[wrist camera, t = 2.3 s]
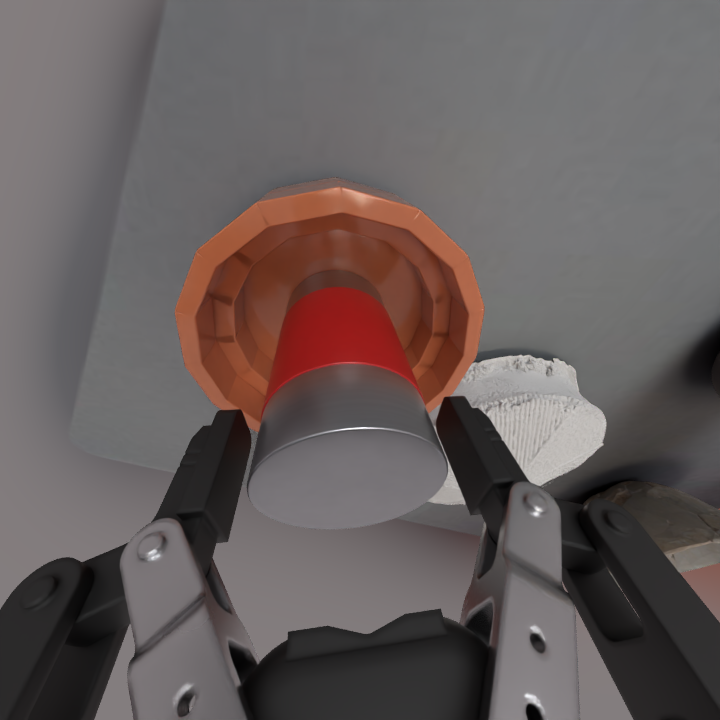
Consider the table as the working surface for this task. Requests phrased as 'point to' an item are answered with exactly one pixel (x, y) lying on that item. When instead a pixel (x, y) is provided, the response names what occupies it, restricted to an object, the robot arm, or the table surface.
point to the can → (342, 415)
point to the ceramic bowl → (671, 521)
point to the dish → (314, 255)
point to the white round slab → (530, 417)
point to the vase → (716, 374)
